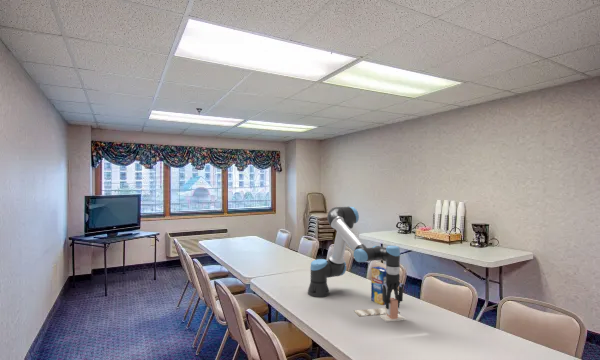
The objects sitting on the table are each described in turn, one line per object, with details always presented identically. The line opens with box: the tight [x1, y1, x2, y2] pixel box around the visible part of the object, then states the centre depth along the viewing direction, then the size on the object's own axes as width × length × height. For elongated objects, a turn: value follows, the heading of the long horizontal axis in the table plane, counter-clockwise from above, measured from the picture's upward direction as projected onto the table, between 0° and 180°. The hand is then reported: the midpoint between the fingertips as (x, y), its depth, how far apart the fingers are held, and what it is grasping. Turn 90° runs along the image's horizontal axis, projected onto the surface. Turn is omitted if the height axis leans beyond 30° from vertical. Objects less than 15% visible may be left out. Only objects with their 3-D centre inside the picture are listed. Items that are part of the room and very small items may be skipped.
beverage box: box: [370, 265, 392, 306], centre depth 216 cm, size 7×11×22 cm, turn 31°
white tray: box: [353, 307, 401, 318], centre depth 190 cm, size 26×18×2 cm
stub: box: [379, 297, 406, 323], centre depth 187 cm, size 12×7×11 cm, turn 103°
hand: (392, 313), depth 187 cm, fingers closed on stub, 4 cm apart
